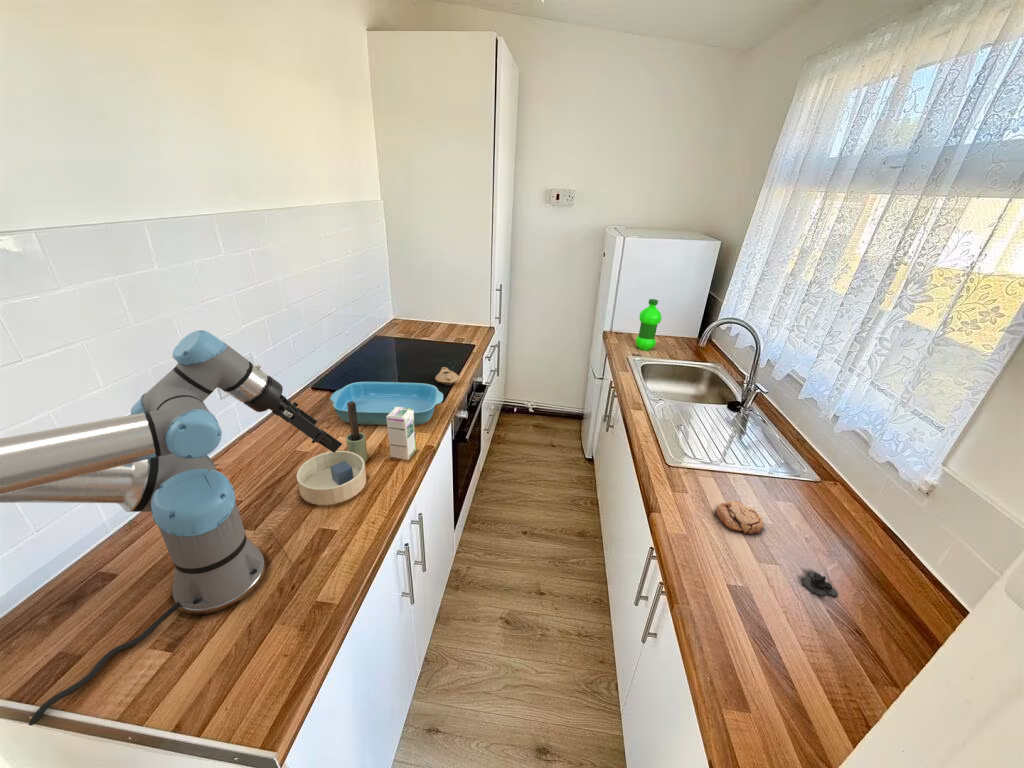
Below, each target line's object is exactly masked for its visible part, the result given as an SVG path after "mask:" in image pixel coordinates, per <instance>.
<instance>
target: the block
mask: <svg viewBox="0 0 1024 768" xmlns="http://www.w3.org/2000/svg"><path fill="white" fill-rule="evenodd" d="M330 468H331V474H332V479H333V480H334V481H335V482H336V483H337V484H338V485H342V484H344V483H346V482H349V481H350V480H352V479H353V471H352V467H351V466H350V465H349V464H348V463H347V462H346V461H343V462H341V463H338V464H336V465H333V466H331V467H330Z"/></svg>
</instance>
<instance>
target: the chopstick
mask: <svg viewBox="0 0 1024 768" xmlns="http://www.w3.org/2000/svg"><path fill="white" fill-rule="evenodd" d="M347 406H348V414H349V421H350V423H349V428H350V434H351V436H352V441H358V440H360V436H359V432H360V429H359V424H358V420H357V412H356V404H355V402H353V401H351V402H348V403H347Z"/></svg>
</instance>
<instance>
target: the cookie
mask: <svg viewBox="0 0 1024 768" xmlns="http://www.w3.org/2000/svg"><path fill="white" fill-rule="evenodd" d="M716 515H717V517H718V518H719V520H720V521H721V522H722V524H724V526H726V528H728V529H731V530H733V531H736V532H737V531H738V532H742V533H743V534H747V535H754V534H760V533H761V531H762V530H763V528H764V521H763V519H762V517H761V516H760V514H759V513H758V512H757V510H755V509H754V508H751V507H749V506H747V505H745V504H742V503H741V502H740V501H737V500H732V501H727V502H722V503H720V504H718V505H717V508H716Z"/></svg>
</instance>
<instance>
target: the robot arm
mask: <svg viewBox="0 0 1024 768" xmlns="http://www.w3.org/2000/svg"><path fill="white" fill-rule="evenodd" d="M172 358H173V359H174V360H175V361H176V365H175V366H174V367H173V368H172V369H171V370H170V371H169V372H168V373H167V374H166V375H165V376H163V377H162V378H161V379H160V380H159V381H158V382H157V383H155V384H154V385H153V387H151V388H150V389H149V390H148V391H147V392H144V393H143V394H142V395H141V396H140V398H139V399H138V400H137V401H136V402H135V403H134V405H133V406H132V407H131V408H130V414H129V415H124V416H117V417H113V418H112V417H111V418H106V419H101V420H96V421H91V422H85V423H79V424H74V425H68V426H63V427H56V428H52V429H51V428H50V429H46V430H40V431H34V432H29V433H24V434H23V433H22V434H19V435H13V436H7V437H1V438H0V503H3V504H4V503H5V504H7V503H15V504H16V503H17V504H18V503H19V504H20V503H21V504H22V503H23V504H26V503H27V504H30V503H32V504H40V503H41V504H117V505H119V506H120V507H121V508H122V509H123V510H124V511H125V512H127V513H137V512H138V513H141V512H143V513H148V512H149V513H151V516H152V519H153V521H154V523H155V525H156V526H157V527H158V530H159V532H160V534H161V537H162V539H163V541H164V544H165V546H166V549H167V551H168V553H169V556H170V558H171V561H172V564H173V566H174V572H173V580H172V598H173V600H174V602H175V603H174V604H173V605H172V606H171V607H170V608H168V609H167V610H166V611H165V612H164V613H163V614H161V616H159V617H158V618H157V619H156V620H155V621H154V622H153V623H152V624H151V625H150V626H149V627H148V628H147V629H146V630H144V631H143V633H141V634H139V635H138V636H137V637H135V638H134V639H132V640H130V641H127V642H125V643H122V644H120V645H117V646H116V647H113V649H111V650H110V651H108V652H107V653H106V654H105V655H103V656H102V657H101V658H100V659H99V661H98V662H97V663H96V664H95V665H94V667H93V668H92V669H91V671H90V672H89V673H88V674H86V675H85V676H84V677H83V678H82V679H80V680H79V681H77V682H76V683H74V684H72V685H71V686H69V687H67V688H65V689H64V690H62V691H60V692H58V693H57V694H55V695H54V696H52V697H51V698H49V699H48V700H46V701H45V702H44V703H43V704H42V705H41V706H40V707H39V708H38V709H37V710H36V711H35V713H34V714H33V716H32V717H31V718H30V721H29V723H28V726H33V725H35V724H37V722H38V721H39V720H40V719H41V717H43V715H44V713H45V712H46V711H47V710H48V709H49V708H50V707H52V706H53V705H54V704H56V703H58V702H59V701H60V700H62V699H64V698H65V697H67V696H70V695H71V694H72V693H74V692H76V691H77V690H79V689H81V688H82V687H84V686H85V685H87V683H90V681H91V680H92V679H94V678H95V677H96V676H97V675H98V673H99V672H100V671H101V670H102V668H103V667H104V666H105V665H106V663H107V662H108V661H109V660H110V659H112V657H114V656H115V655H118V653H120V652H122V651H123V652H124V651H125V650H128V649H129V648H132V647H134V646H136V645H137V644H139V643H141V642H142V641H144V640H145V639H147V638H148V637H149V636H150V635H151V634H152V633H153V632H154V631H155V630H156V629H157V628H158V627H159V626H160V625H161V624H162V623H163V622H164V621H166V620H167V619H168V618H169V617H170V616H171V615H173V613H174V612H175V611H177V610H178V609H179V610H180V611H181V612H183V613H185V614H187V615H194V616H203V615H205V616H206V615H209V614H214V613H218V612H221V611H224V610H226V609H229V608H231V607H232V606H234V605H236V604H238V603H240V602H241V601H243V600H244V599H245V598H247V597H248V596H250V595H251V594H252V593H253V592H254V591H255V590H256V589H257V587H258V586H259V585H260V584H261V582H262V580H263V578H264V576H265V574H266V567H267V565H266V561H265V557H264V555H263V552H262V551H261V550H260V548H258V547H257V546H256V545H255V544H254V543H253V542H252V541H251V539H249V537H248V536H247V534H246V531H245V527H244V524H243V521H242V517H241V514H240V510H239V507H238V503H237V500H236V492H235V488H234V487H233V485H232V483H231V482H230V480H229V479H228V477H227V476H226V475H225V474H223V473H222V472H220V471H218V469H217V468H216V465H215V463H214V461H213V460H212V459H211V458H210V456H209V455H210V454H211V453H212V452H214V451H215V450H216V449H217V447H219V444H220V443H221V440H222V434H223V433H222V429H221V427H220V425H219V421H218V420H217V418H216V416H215V415H214V414H213V413H212V412H211V411H210V410H209V409H208V407H207V406H206V404H205V402H204V401H205V400H207V398H208V397H210V395H211V394H212V393H214V391H215V390H216V389H217V388H218V389H220V390H221V391H222V392H224V393H226V394H227V395H229V396H230V397H231V398H234V399H235V400H237V401H238V402H240V403H243V405H245V406H247V407H248V408H250V409H251V410H253V411H255V412H256V413H262V412H266V411H268V410H270V411H271V413H272V414H274V415H275V416H277V417H280V418H281V419H282V420H283V421H285V422H286V423H289V424H291V425H292V426H294V428H296V429H297V430H299V431H301V432H302V433H303V434H304V435H305V436H307V437H308V438H310V439H311V443H312V444H313V445H314V444H315V443H317V444H320V445H321V446H323V447H324V448H325V449H327V450H329V452H331V451H332V452H333V453H335V452H336V451H338V450H339V449H340V447H341V446H342V445H343V443H342V442H341V441H339V440H338V439H336V438H335V437H333V436H332V435H331V434H329V433H328V432H326V431H325V430H323V429H321V428H320V427H318V426H316V424H317V423H318V420H317V419H315V418H314V417H312V416H311V415H310V414H308V413H307V412H305V411H304V410H303V409H301V408H299V407H298V406H299V403H298V402H296V401H293V402H292V401H291V400H289V399H287V397H286V396H284V395H283V385H282V384H281V383H280V382H279V381H278V380H276V379H275V378H274V377H272V376H270V375H268V374H267V373H266V372H265V371H263V370H262V369H261V367H262V366H261V365H260V364H259V363H256V364H254V363H252V362H251V361H250V360H248V359H247V358H246V357H244V356H243V355H242V354H241V353H239V352H238V351H237V350H236V349H234V348H233V347H231V346H230V345H228V344H227V343H226V342H224V340H221V339H219V337H217V336H215V335H213V334H212V333H210V332H209V331H207V330H203V329H201V330H194V331H193V332H190V333H188V334H187V335H185V337H183V338H182V339H181V340H180V341H179V342H178V344H177V345H176V346H175V347H174V349H173V351H172Z"/></svg>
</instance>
